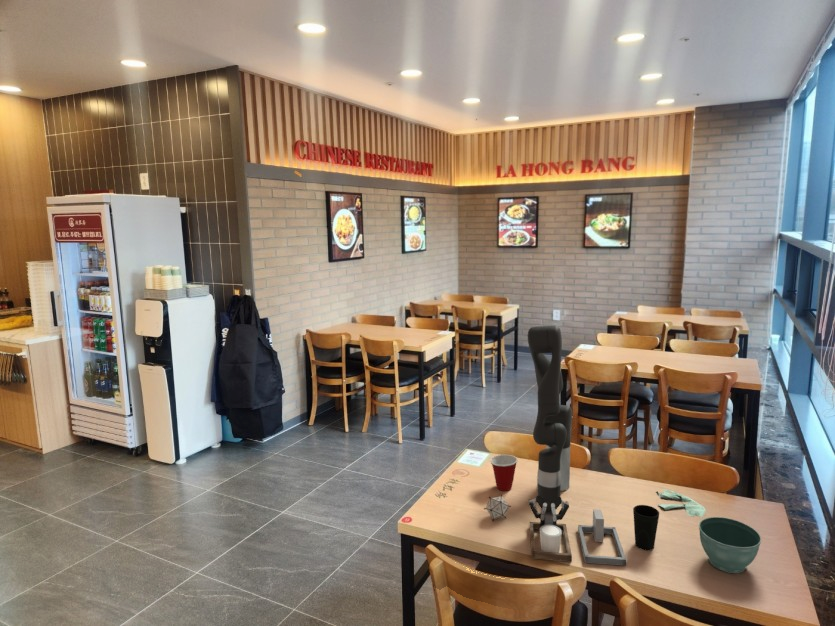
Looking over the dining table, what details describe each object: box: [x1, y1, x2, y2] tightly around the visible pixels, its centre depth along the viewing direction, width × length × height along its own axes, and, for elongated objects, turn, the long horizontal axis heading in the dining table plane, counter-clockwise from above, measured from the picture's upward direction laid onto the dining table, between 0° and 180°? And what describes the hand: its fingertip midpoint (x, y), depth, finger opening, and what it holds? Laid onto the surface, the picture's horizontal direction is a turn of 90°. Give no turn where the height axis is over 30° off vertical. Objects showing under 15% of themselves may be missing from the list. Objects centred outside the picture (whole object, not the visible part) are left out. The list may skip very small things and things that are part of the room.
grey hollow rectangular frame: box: [577, 508, 627, 567], centre depth 174 cm, size 18×12×8 cm, turn 171°
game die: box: [483, 493, 512, 522], centre depth 193 cm, size 9×8×10 cm
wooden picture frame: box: [529, 511, 573, 562], centre depth 176 cm, size 18×12×8 cm, turn 171°
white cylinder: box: [539, 525, 563, 553], centre depth 173 cm, size 7×7×7 cm
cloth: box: [655, 488, 706, 518], centre depth 201 cm, size 20×22×2 cm
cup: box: [632, 504, 660, 552], centre depth 174 cm, size 8×8×12 cm
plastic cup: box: [489, 454, 518, 492], centre depth 215 cm, size 11×11×12 cm
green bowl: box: [698, 516, 762, 574], centre depth 164 cm, size 16×16×11 cm
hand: (548, 529), depth 183 cm, fingers closed on wooden picture frame, 2 cm apart
